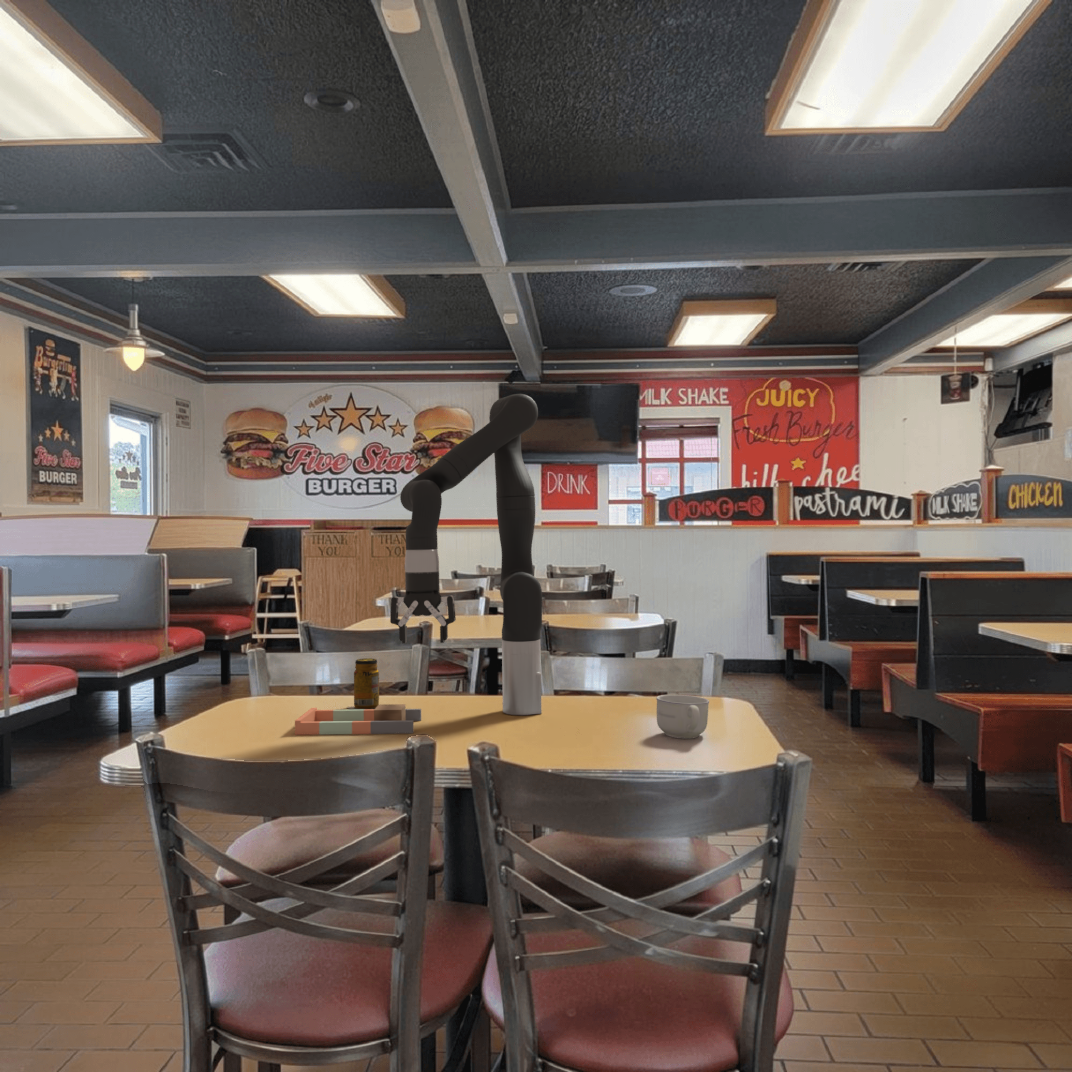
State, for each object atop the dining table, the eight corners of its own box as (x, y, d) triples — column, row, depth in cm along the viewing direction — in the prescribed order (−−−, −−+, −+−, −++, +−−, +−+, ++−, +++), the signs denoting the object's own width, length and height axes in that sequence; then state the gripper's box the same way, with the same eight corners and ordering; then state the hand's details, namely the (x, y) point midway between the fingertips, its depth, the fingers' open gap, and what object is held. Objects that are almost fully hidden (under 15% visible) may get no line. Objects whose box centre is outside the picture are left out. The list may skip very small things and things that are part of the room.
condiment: (372, 704, 215) (372, 656, 215) (389, 709, 208) (388, 660, 208) (346, 708, 210) (345, 659, 210) (362, 713, 204) (362, 663, 204)
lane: (421, 719, 196) (421, 706, 196) (412, 733, 183) (412, 719, 182) (311, 720, 196) (311, 707, 196) (295, 734, 183) (294, 720, 183)
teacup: (654, 729, 183) (653, 692, 183) (704, 729, 183) (704, 692, 183) (661, 746, 169) (661, 705, 169) (716, 746, 169) (716, 705, 169)
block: (405, 724, 192) (405, 704, 192) (401, 730, 186) (401, 709, 186) (378, 724, 192) (378, 704, 192) (374, 730, 186) (374, 710, 186)
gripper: (456, 568, 193) (457, 640, 193) (394, 569, 194) (395, 641, 194) (451, 570, 186) (452, 644, 186) (386, 571, 187) (388, 645, 187)
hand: (423, 642), depth 190 cm, fingers open, 8 cm apart
